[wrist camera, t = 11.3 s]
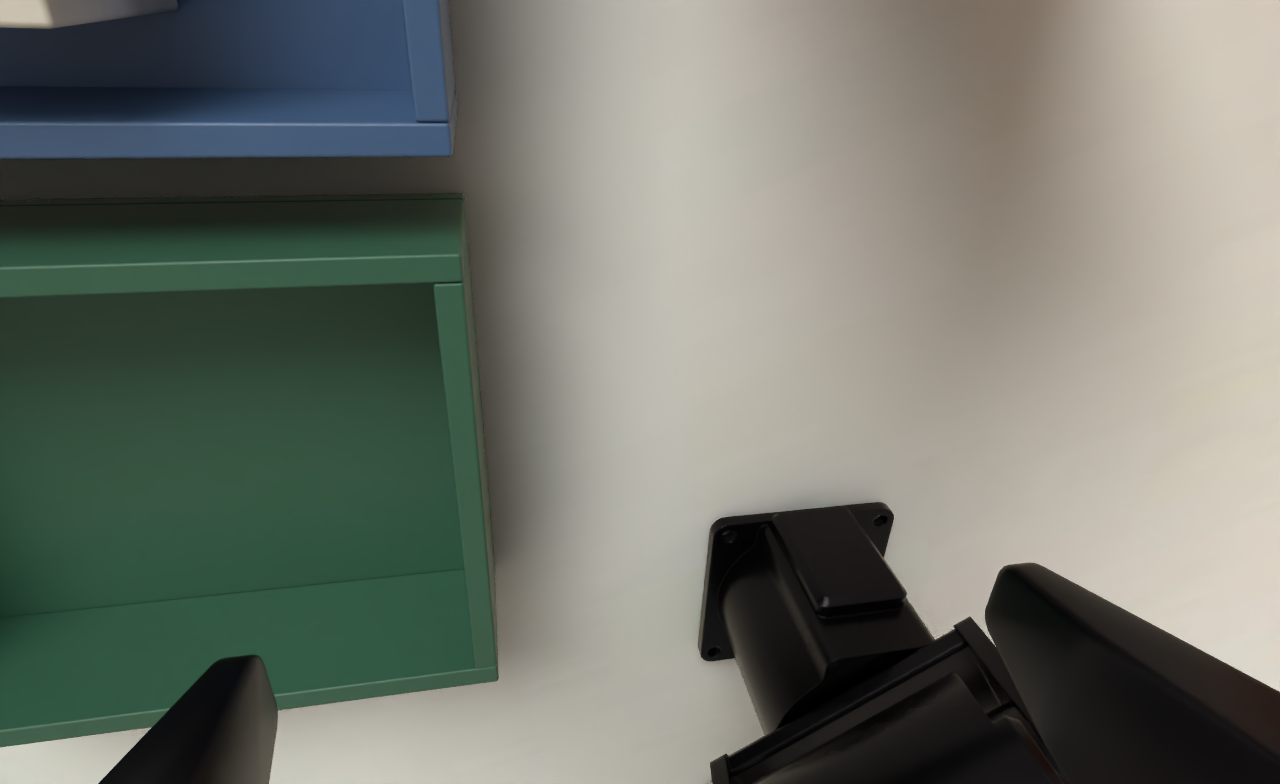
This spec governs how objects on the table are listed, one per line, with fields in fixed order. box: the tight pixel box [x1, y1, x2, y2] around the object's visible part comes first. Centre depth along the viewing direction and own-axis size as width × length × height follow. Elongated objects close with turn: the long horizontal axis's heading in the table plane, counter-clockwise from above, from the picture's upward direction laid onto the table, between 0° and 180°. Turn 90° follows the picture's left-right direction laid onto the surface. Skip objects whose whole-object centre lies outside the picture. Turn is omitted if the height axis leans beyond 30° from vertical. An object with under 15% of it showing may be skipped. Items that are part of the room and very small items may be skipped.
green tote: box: [0, 194, 499, 747], centre depth 18 cm, size 12×15×4 cm
